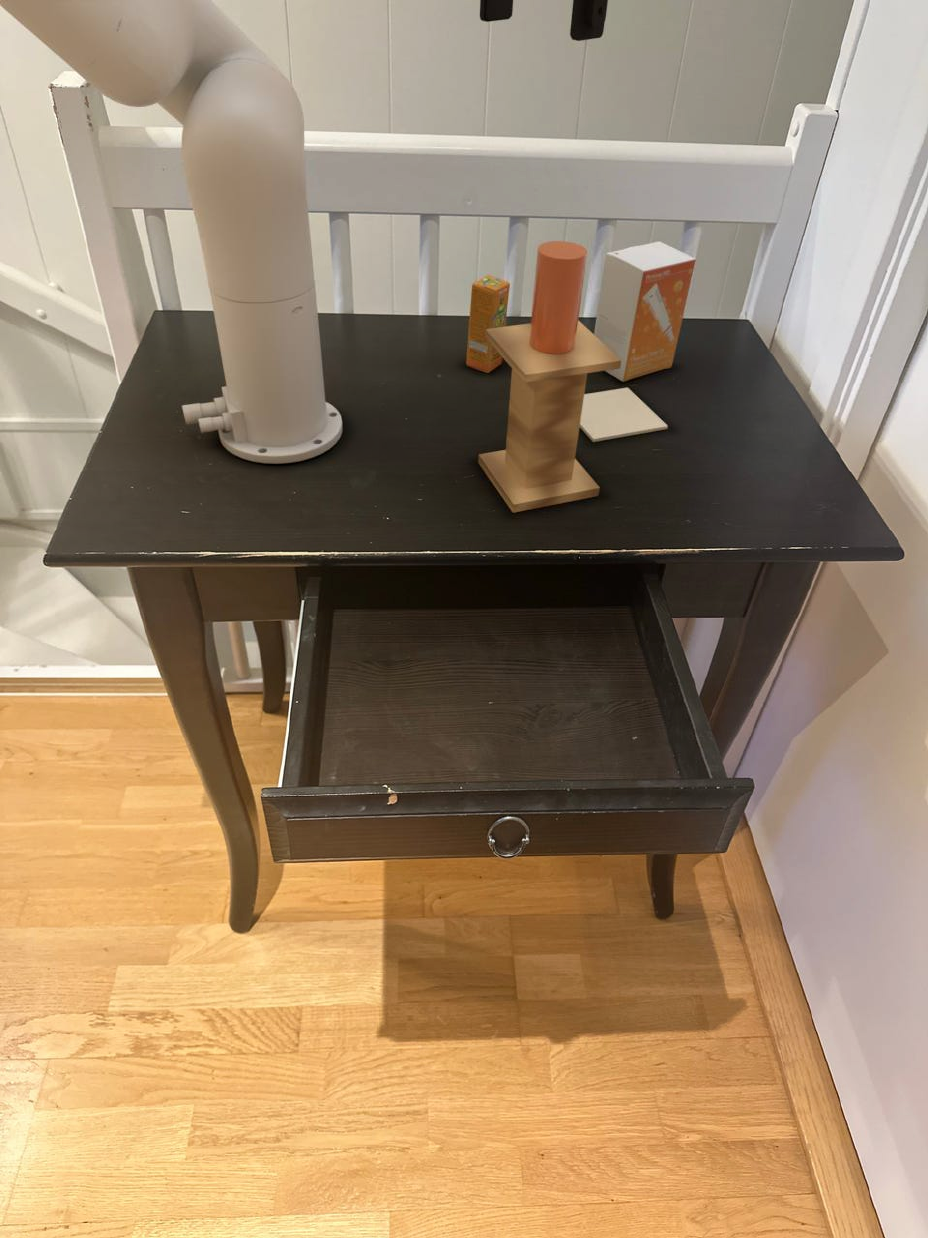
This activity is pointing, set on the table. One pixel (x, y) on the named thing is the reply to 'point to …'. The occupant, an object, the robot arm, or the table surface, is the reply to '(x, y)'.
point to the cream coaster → (617, 415)
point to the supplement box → (486, 321)
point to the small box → (643, 306)
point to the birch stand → (544, 419)
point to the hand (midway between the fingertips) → (539, 28)
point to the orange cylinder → (557, 296)
